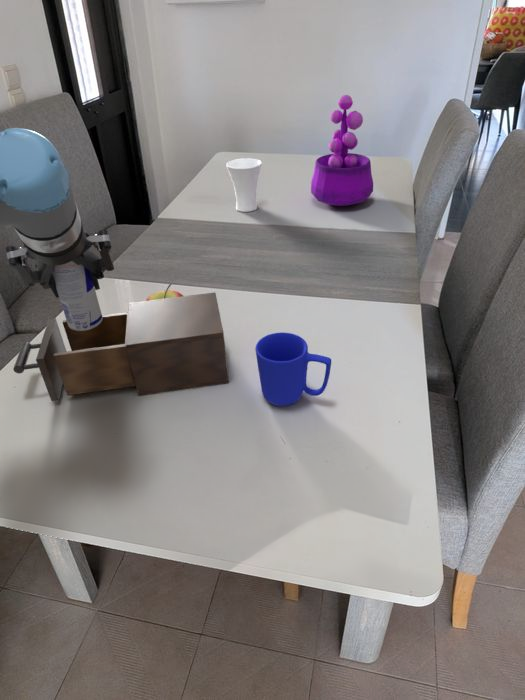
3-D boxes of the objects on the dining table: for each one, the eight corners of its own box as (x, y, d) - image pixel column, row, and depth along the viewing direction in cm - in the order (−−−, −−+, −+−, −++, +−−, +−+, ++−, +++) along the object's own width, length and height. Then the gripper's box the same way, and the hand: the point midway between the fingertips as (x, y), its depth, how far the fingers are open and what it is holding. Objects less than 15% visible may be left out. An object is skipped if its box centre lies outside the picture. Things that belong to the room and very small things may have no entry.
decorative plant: (373, 192, 164) (382, 88, 147) (370, 214, 150) (379, 101, 132) (315, 190, 168) (316, 89, 151) (305, 211, 154) (306, 101, 136)
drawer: (20, 406, 86) (2, 364, 81) (34, 362, 96) (19, 322, 91) (139, 389, 88) (128, 347, 83) (140, 348, 98) (131, 308, 93)
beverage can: (108, 325, 85) (85, 240, 77) (74, 337, 83) (47, 250, 74) (96, 311, 89) (74, 229, 80) (64, 322, 87) (37, 238, 78)
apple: (194, 334, 102) (188, 290, 97) (152, 344, 100) (143, 300, 95) (185, 314, 109) (178, 272, 103) (145, 323, 107) (136, 280, 101)
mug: (322, 421, 81) (324, 371, 75) (251, 405, 85) (247, 356, 79) (335, 389, 87) (337, 340, 81) (268, 375, 91) (265, 328, 85)
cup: (254, 216, 152) (251, 169, 144) (223, 212, 156) (219, 166, 148) (269, 204, 160) (267, 159, 152) (239, 200, 164) (236, 156, 156)
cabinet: (138, 395, 88) (125, 345, 82) (140, 350, 99) (129, 302, 93) (228, 382, 90) (223, 332, 84) (220, 339, 101) (215, 292, 95)
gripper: (-26, 269, 61) (22, 319, 83) (133, 241, 65) (137, 295, 88) (-38, 211, 62) (12, 275, 84) (119, 187, 66) (127, 254, 89)
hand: (76, 285), depth 86 cm, fingers closed on beverage can, 6 cm apart
